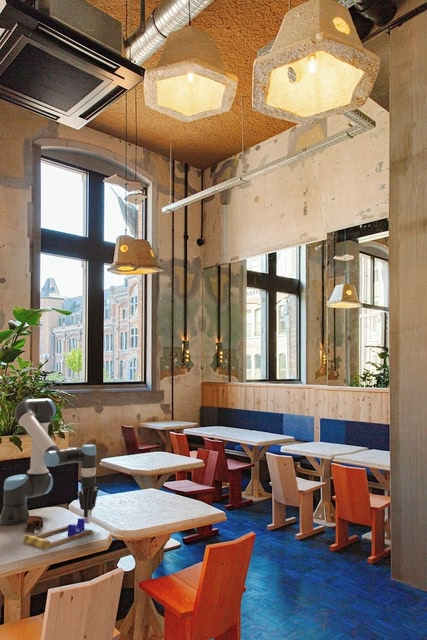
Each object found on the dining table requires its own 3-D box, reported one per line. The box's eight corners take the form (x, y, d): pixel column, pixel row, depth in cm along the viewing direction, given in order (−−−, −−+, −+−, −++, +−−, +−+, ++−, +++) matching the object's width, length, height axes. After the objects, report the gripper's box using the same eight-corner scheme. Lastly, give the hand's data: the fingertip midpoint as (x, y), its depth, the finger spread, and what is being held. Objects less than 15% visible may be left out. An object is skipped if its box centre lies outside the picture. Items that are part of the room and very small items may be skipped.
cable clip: (76, 530, 258) (76, 518, 259) (84, 530, 257) (84, 518, 258) (64, 537, 246) (65, 524, 247) (73, 538, 245) (73, 525, 246)
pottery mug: (18, 532, 256) (23, 515, 260) (34, 537, 261) (38, 520, 266) (33, 530, 249) (38, 513, 254) (49, 535, 255) (53, 518, 260)
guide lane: (23, 541, 240) (24, 535, 240) (70, 527, 262) (70, 521, 262) (45, 549, 230) (46, 542, 230) (92, 533, 252) (92, 527, 252)
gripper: (83, 478, 255) (82, 527, 253) (103, 474, 266) (102, 521, 263) (73, 476, 259) (72, 524, 257) (93, 472, 270) (92, 518, 268)
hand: (87, 523), depth 260 cm, fingers closed
